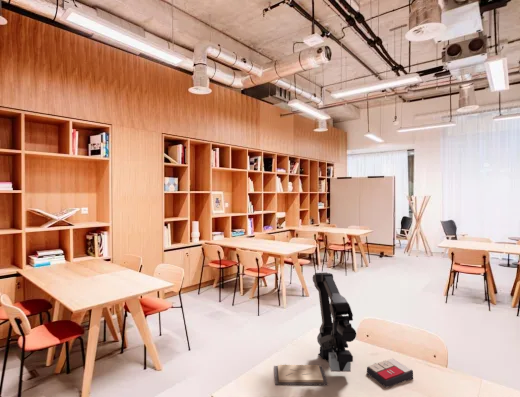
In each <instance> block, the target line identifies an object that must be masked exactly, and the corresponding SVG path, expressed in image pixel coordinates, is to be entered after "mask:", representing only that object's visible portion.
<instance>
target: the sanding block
mask: <svg viewBox="0 0 520 397" xmlns="http://www.w3.org/2000/svg"><path fill="white" fill-rule="evenodd" d="M351 363H352V362H347V364H346V366H345V368H344V369H343V371H340V368H339V362H338V361H337V359H336V358H335V352H329V361H328V367H329V370H330V372H333V373H334V372H337V373H338V372H340V373H341V372H343V373H347V372H348V373H350V372H351ZM351 373H352V372H351Z"/></svg>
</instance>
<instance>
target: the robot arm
mask: <svg viewBox="0 0 520 397" xmlns="http://www.w3.org/2000/svg"><path fill="white" fill-rule="evenodd" d="M312 281H313V284H314V285H313V286H314V287H315V289H316V290H317V291H318V300H319V306H320V314H321V325H320V327H319V333H318V335H317V338H316V339H317V340H316V341H317V343H318V345H319V353H318V354H317V355H318V356H319V357H321V358H322V359H323V360H325V361H327V362H329V352H335V358H336V359H337V361H338V362H339V368H340V371H343V369H344V368H345V366H346V364H347V362H351V363H353V362H354V356H353V354H352V353H351V351H350V350H348V348H349V345H348V343H350V342H353V341H354V340H356V338H357V332H356V329H355V328H353V326H352V323H351V322H352V321H353V320H354V319H353V317H354V313H353V311H352V307H351V305H350V303H349V302H348V300H347V299H346V297H345V296H343V295H341V293H340V291H339V289H338V287H337V284H336V282H335V279H334V274H333V273H331V272H327V271H326V272H315V273H314V274H313V275H312Z"/></svg>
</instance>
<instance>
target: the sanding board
mask: <svg viewBox="0 0 520 397" xmlns="http://www.w3.org/2000/svg"><path fill="white" fill-rule="evenodd" d="M273 367H274V368H273V369H274V370H273V371H274V383H275V386H328V384H329V383H328V381H327V378H326V375H325V371H324V369H323V366H322V365H319V364H277V365H274V366H273Z"/></svg>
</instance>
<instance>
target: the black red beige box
mask: <svg viewBox="0 0 520 397" xmlns="http://www.w3.org/2000/svg"><path fill="white" fill-rule="evenodd" d="M366 373H367V375H369V376H370V377H371V378H373V380H376V382H378V383H379V384H380V385H382V386H384V387H385V388H389V387H391V386H395V385H398V384H401V383H402V382H407V381H410V380H411V381H412V380H413V379H414V371H413V370H412V368H410V367H408V366H406V365H404V364H403V363H401V362H400V361H399V360H396V359H395V358H393V357H392V358H390V359H387V360H386V359H385V360H383V361H380V362H377V363H374V364H371V365H368V366H366Z"/></svg>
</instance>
